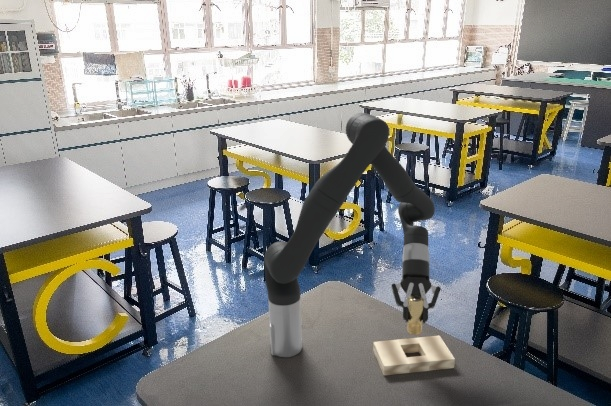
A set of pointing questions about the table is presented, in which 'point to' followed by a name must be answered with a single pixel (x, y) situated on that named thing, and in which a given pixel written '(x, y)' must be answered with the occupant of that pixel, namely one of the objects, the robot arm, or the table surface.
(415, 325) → the bushing
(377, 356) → the jig
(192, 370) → the table surface
